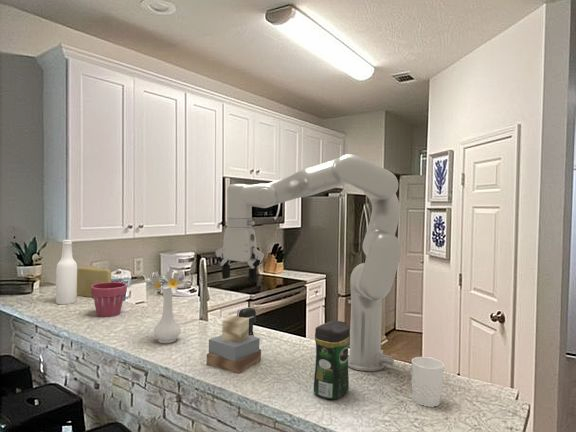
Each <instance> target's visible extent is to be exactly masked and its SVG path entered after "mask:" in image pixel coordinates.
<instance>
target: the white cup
mask: <svg viewBox="0 0 576 432" xmlns="http://www.w3.org/2000/svg"><path fill="white" fill-rule="evenodd" d="M444 369H445V363H443V361H441V360H439V359H437V358H433V357H429V356H428V357H427V356H416V357H413V358H412V359H411V389H412V401H413V402H414V401H415V402H414V403H416V404H417V403H418V404H417V405H419V404H420V405H419V406H421V405H424V406H423V407H426V406H436V407H438V406H437V405H441V403H442V402H441V401H442V400H441V399H442V392H443V383H444V371H445V370H444Z"/></svg>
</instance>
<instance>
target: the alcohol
mask: <svg viewBox="0 0 576 432" xmlns="http://www.w3.org/2000/svg"><path fill="white" fill-rule="evenodd" d="M77 268H78V264H77V262H76V260H75V259H74V258H73V240H72V239H63V240H62V249H61V258H60V260H59V261H58V263H57V264H56V268H55V272H56V273H55V303H56V304H57V305H60V306H66V305H73V304H75V303H76V302H77V301H78V295H77Z"/></svg>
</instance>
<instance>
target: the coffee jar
mask: <svg viewBox="0 0 576 432" xmlns="http://www.w3.org/2000/svg"><path fill="white" fill-rule="evenodd" d="M314 333H315V335H314V341H315V365H314V367H315V368H314V377H313V392H314V394H315V395H316V396H318V397H320V398H322V399H324V400H325V399H326V400H327V399H328V400H337V399H340V398H341V397H343V396H344V395H345V394H346V393H347V392H348V391H349V389H350V387H349V386H350V385H349V384H350V383H349V381H350V380H349V379H350V378H349V366H348V355H349V346H350V326H349V325H348V324H347V322H345V321H340V320H337V319H333V320H330V321H328V322H325V323H323V324H320V325H318V326H316V327H315V332H314Z"/></svg>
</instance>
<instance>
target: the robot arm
mask: <svg viewBox="0 0 576 432" xmlns="http://www.w3.org/2000/svg"><path fill="white" fill-rule="evenodd" d="M348 184H349V185H351V186H352V187H354V188H356V189H359V190H360V191H362V192H363V194H365V197H367V198H368V200H369V201H370V204H371V209H372V210H371V215H370V220H369V223H368V227H367V230H366V233H365V236H364V239H363V242H362V250H363V253H364V255H365V256H366V258H365V260H364V262H362V263H360V264H357V265H356V266H355V267H354V268H353V270H352V271H351V275H350V278H349V279H350V280H349V281H350V282H349V284H350V326H349V333H350V338H349V354H348V368H350V369H353V370H357V371H361V372H376V371H381V370H384V369H385V367H386V365H391V366H394V364H395V358H393V356H392V355H386V354H384V350H383V349H381V347H382V346H381V345H382V316H383V303H382V302H383V301H382V299H384V298H385V297H386V296H388V294H389V293H390V291H391V288H392V287H393V283H394V280H395V278H396V277H395V276H396V273H397V271H398V267H399V263H400V259H401V256H402V244H401V241H400V240H399V238H398V237H397V236H396V232H397V228H398V225H399V221H400V216H401V206H400V201H399V198H398V196H397V192H398V190H399V180H398V179H397V177H396V175H395V174H394V173H392V172H391V171H389V170H388V169H386V168H384V167H382V166H381V165H380V166H379V165H377V164H376V163H373V162H371V161H369V160H366V159H365V158H363V157H361V156H358V155H356V154H353V153H352V154H351V153H346V154H343V155H341V156H339V157H337V158H334V159H330V160H328V161H324V162H322V163H318V164H315V165H312V166H309V167H306V168H305V167H304V168H303V169H301V170H298V171H297V172H295V173H293V174H291V175H289V176H286V177H283V178H281V179H277V180H274V181H271V182H268V183H266V182H263V183H262V182H261V183H255V184H254V183H253V184H247V183H231V184H229V185H228V186H227V190H226V191H227V192H226V193H227V194H226V197H227V198H226V203H227V204H226V211H227V212H226V228H225V230H224V233H223V234H224V235H223V242H222V247H220V248H218V249H217V250H215V252H214V253H215V255H216V257H217V261H218V263H220V266H221V277H222V279H223V280H225V279H229V278H230V277H231V266H230V263H231V262H241V263H244V262H245V263H247V264H248V266H249V268H248V282H249V283H252V282H255V281H257V278H258V277H257V276H258V275H257V271H258V270H257V269H258V268H259V266H260V265H261V264H262V262H263V260H264V258H265V253H263V252H262V251H260V250H259V249H257V246H258V245H257V238H256V232H255V229H254V228H252V227H253V226H255V224H256V223H255V220H253V218H252V217H253V215H252V214H253V213H252V212H253V210H252V209H253V207H254V208H261V209H267V208H270V207H273V206H276V205H279V204H283V203H286V202H288V201H292V200H296V199H299V198H307V197H310V196H313V195H317V194H319V193H322V192H326V191H330V190H332V189H335V188H338V187H342V186H345V185H348Z"/></svg>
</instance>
